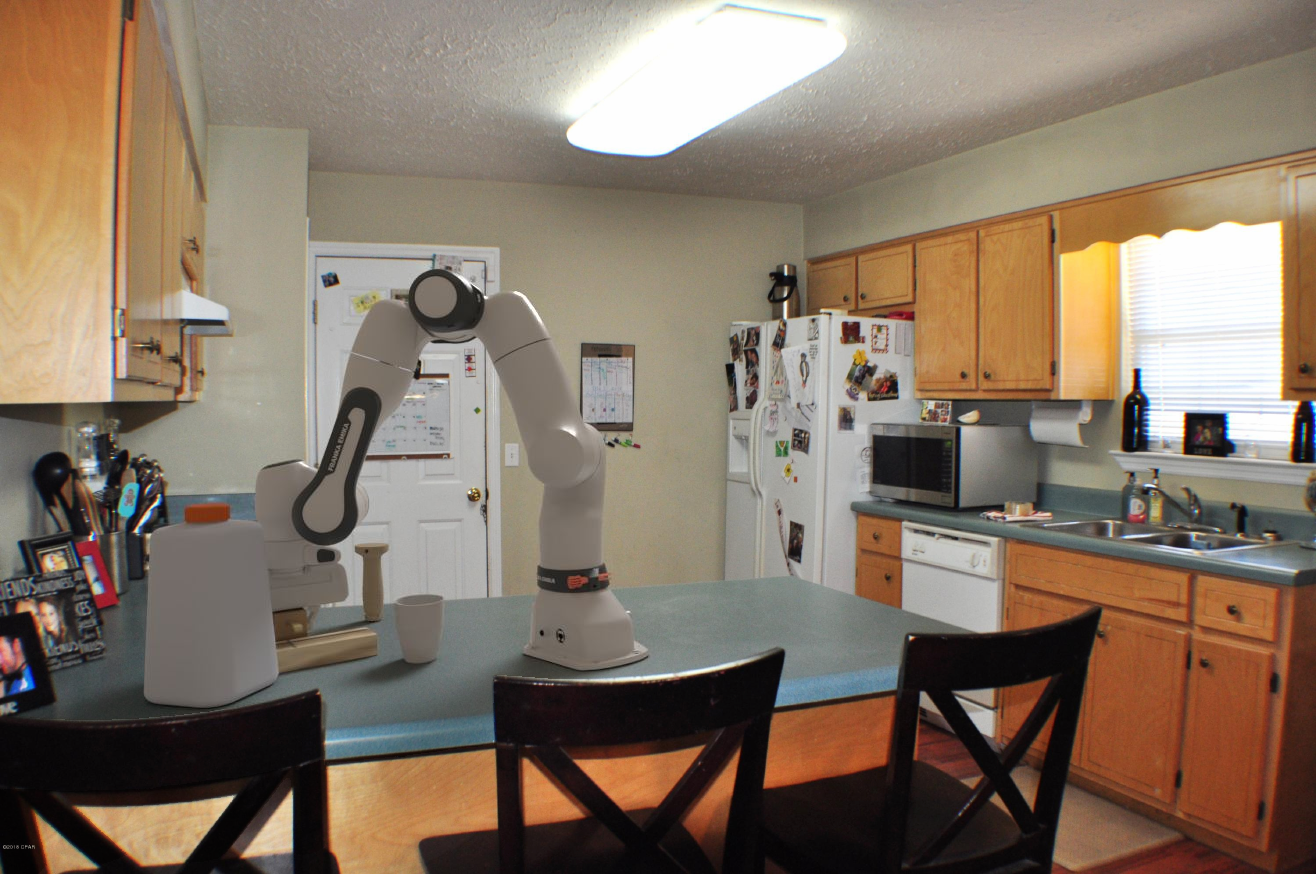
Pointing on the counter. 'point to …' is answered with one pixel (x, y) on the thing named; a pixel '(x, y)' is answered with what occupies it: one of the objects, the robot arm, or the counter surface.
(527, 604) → the counter surface
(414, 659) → the cup
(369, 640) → the board
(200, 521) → the plastic bottle
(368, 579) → the handle
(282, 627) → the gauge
